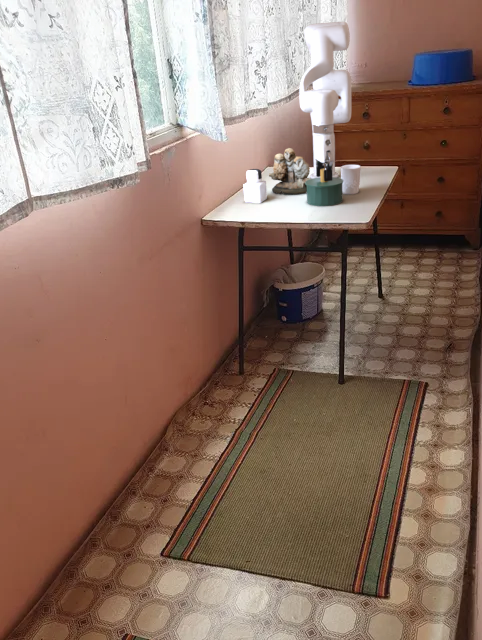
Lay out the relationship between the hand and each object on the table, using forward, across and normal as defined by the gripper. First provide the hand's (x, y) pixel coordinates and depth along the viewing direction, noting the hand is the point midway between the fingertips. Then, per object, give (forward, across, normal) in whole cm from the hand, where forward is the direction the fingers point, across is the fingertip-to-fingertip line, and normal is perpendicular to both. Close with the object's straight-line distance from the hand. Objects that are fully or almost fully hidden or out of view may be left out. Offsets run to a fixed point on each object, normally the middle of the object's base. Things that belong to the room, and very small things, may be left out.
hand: (324, 178), depth 231 cm
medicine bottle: (+9, +15, +24) cm, 30 cm away
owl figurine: (+9, +22, +7) cm, 25 cm away
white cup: (+9, +8, -14) cm, 18 cm away
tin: (+9, 0, 0) cm, 9 cm away
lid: (+2, 0, 0) cm, 2 cm away
